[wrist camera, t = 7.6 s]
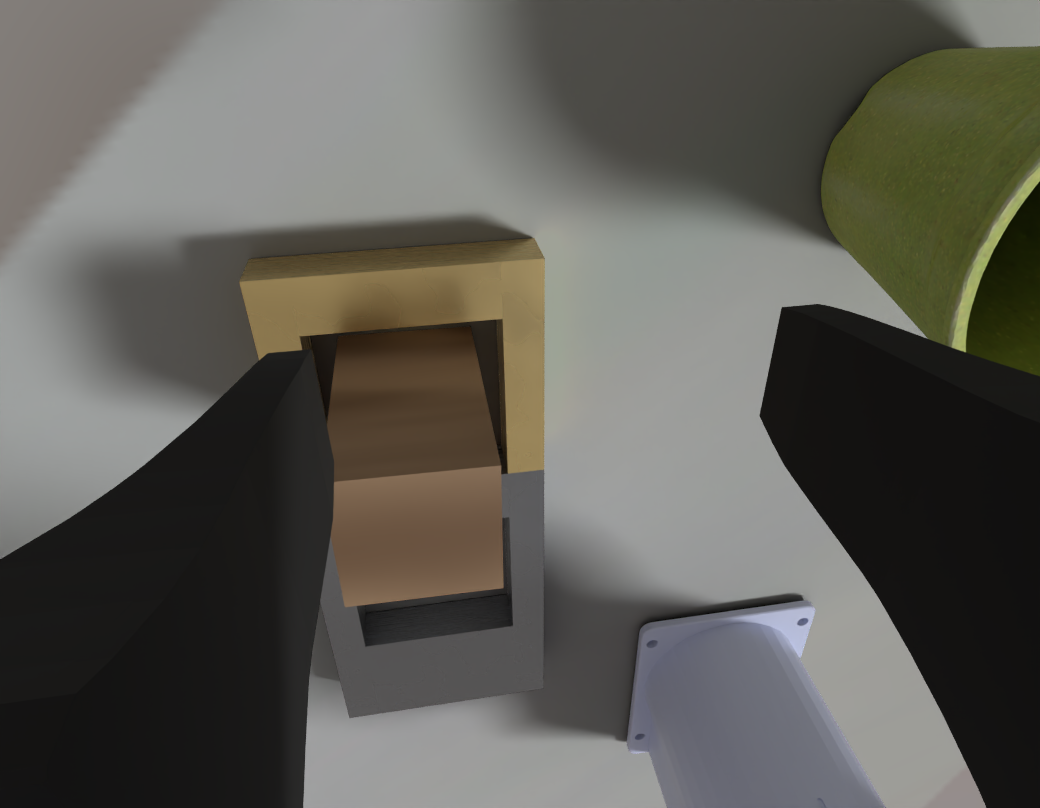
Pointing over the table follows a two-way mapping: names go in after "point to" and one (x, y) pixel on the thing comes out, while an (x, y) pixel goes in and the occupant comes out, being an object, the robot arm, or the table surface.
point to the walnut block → (413, 468)
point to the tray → (520, 342)
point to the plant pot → (949, 197)
